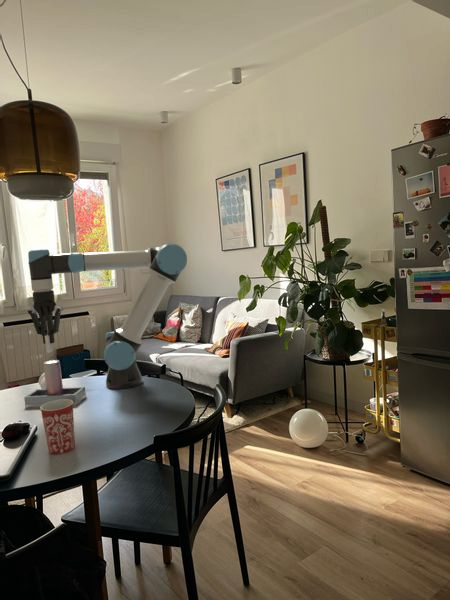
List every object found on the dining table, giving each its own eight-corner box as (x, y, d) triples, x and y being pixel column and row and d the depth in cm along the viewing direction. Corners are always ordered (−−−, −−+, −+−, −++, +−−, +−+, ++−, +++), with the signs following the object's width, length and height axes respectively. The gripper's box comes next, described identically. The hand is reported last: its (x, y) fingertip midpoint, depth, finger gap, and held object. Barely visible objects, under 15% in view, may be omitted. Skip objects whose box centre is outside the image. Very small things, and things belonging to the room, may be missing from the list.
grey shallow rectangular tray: (86, 396, 180) (85, 386, 180) (76, 405, 170) (74, 395, 170) (38, 398, 182) (36, 389, 181) (25, 407, 172) (23, 397, 171)
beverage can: (49, 398, 178) (44, 361, 176) (65, 396, 179) (60, 359, 178) (46, 403, 172) (41, 364, 171) (63, 400, 174) (58, 362, 172)
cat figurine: (52, 372, 185) (47, 361, 198) (35, 385, 182) (31, 373, 195) (66, 388, 189) (61, 376, 202) (50, 401, 186) (45, 388, 199)
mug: (78, 451, 129) (73, 406, 127) (44, 458, 126) (38, 412, 125) (78, 435, 141) (73, 393, 139) (47, 441, 138) (42, 398, 137)
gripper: (63, 288, 174) (70, 348, 177) (31, 290, 175) (38, 350, 178) (55, 290, 167) (62, 353, 169) (21, 292, 168) (29, 354, 171)
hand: (50, 351), depth 174 cm, fingers closed
